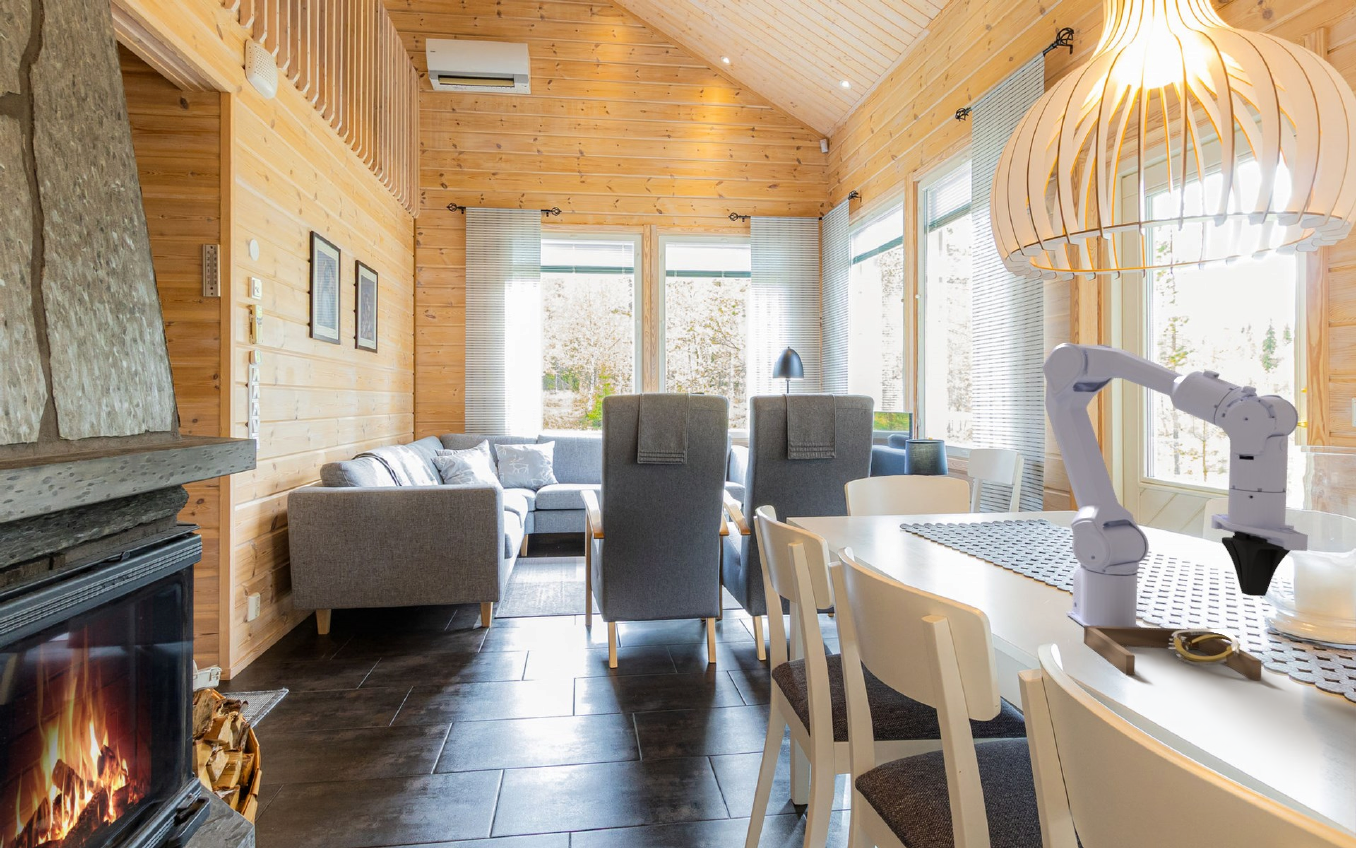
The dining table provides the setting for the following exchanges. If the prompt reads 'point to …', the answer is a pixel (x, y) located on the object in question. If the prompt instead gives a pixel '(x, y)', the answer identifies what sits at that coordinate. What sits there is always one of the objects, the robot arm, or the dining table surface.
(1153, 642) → the brown u-shaped frame
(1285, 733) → the dining table surface
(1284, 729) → the dining table surface
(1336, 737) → the dining table surface
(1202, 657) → the ring
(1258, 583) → the robot arm
